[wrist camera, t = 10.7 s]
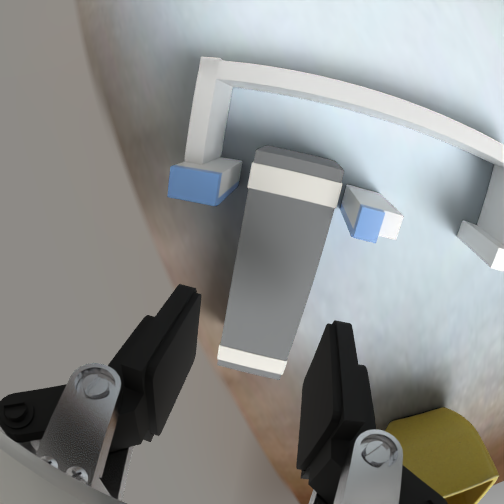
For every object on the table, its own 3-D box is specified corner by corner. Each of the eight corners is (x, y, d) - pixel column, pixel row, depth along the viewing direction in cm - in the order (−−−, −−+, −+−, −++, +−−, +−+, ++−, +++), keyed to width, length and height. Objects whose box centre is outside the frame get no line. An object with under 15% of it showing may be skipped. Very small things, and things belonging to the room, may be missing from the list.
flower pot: (452, 439, 21) (470, 512, 13) (369, 460, 23) (372, 539, 15) (468, 383, 18) (501, 474, 10) (365, 411, 20) (373, 514, 12)
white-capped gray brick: (265, 144, 14) (254, 149, 11) (336, 161, 14) (345, 171, 11) (230, 327, 19) (216, 365, 16) (285, 340, 19) (280, 380, 16)
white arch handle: (220, 68, 13) (188, 49, 9) (507, 154, 12) (555, 168, 8) (202, 179, 16) (167, 199, 12) (478, 249, 14) (516, 285, 10)
